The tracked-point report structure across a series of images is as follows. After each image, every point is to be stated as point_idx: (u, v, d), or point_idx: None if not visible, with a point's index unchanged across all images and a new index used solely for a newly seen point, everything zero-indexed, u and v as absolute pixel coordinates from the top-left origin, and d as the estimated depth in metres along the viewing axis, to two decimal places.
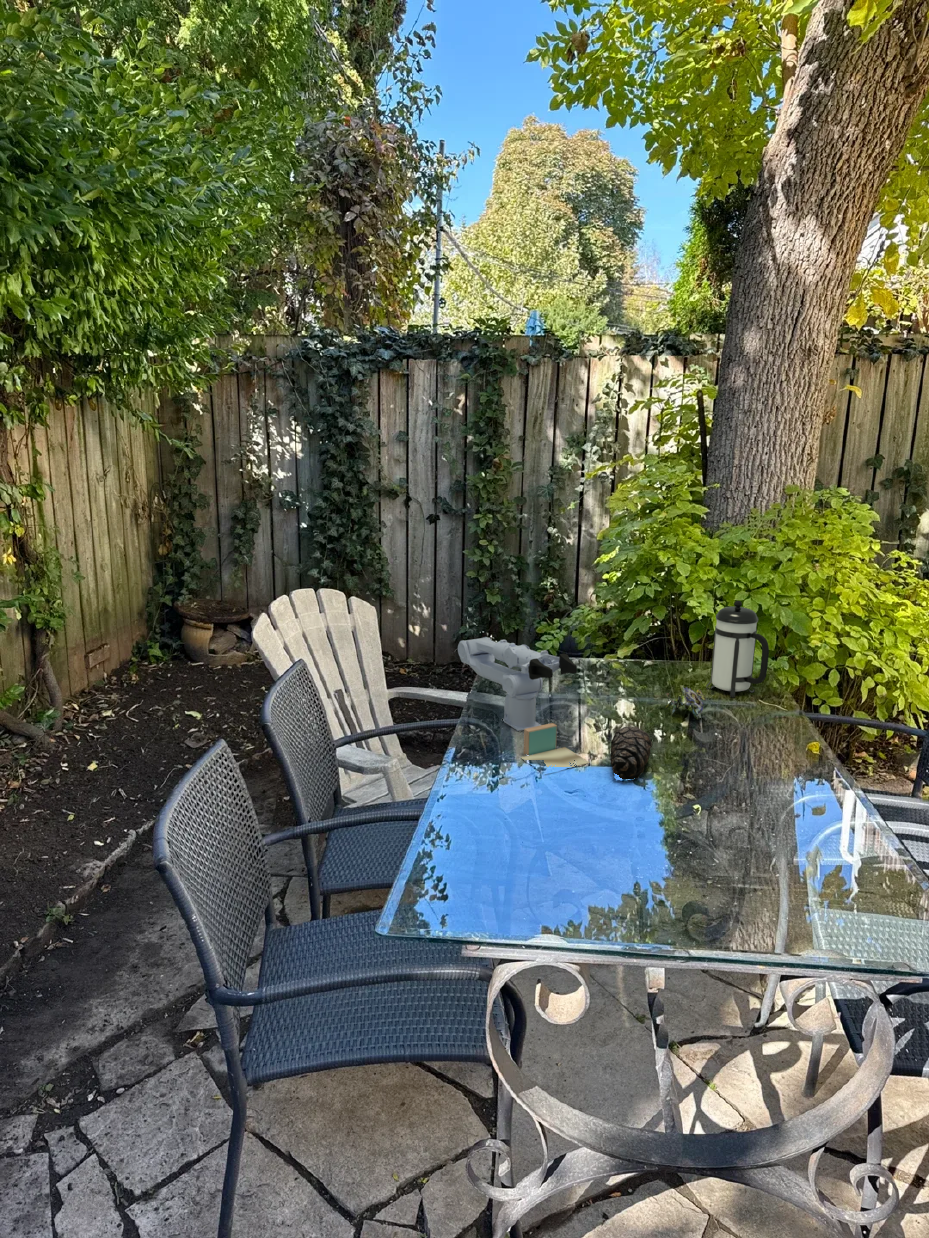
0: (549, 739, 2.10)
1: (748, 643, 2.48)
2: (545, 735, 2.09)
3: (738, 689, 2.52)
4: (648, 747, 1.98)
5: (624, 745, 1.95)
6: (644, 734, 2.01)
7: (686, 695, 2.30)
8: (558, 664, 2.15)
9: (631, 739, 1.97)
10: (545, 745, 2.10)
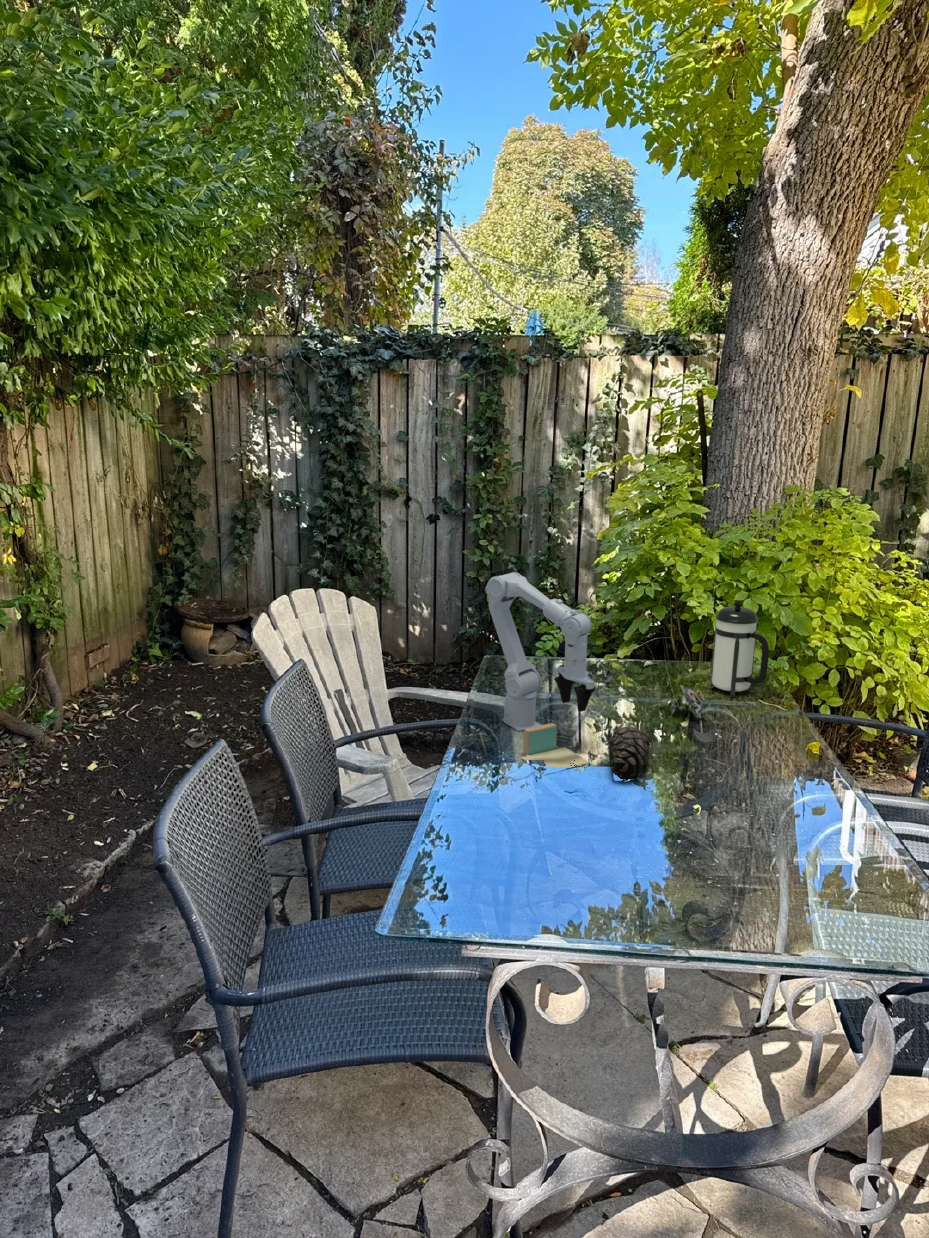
0: (549, 739, 2.10)
1: (748, 643, 2.48)
2: (545, 735, 2.09)
3: (738, 689, 2.52)
4: (647, 747, 1.98)
5: (623, 745, 1.95)
6: (642, 734, 2.01)
7: (686, 695, 2.31)
8: None
9: (630, 739, 1.97)
10: (545, 745, 2.10)
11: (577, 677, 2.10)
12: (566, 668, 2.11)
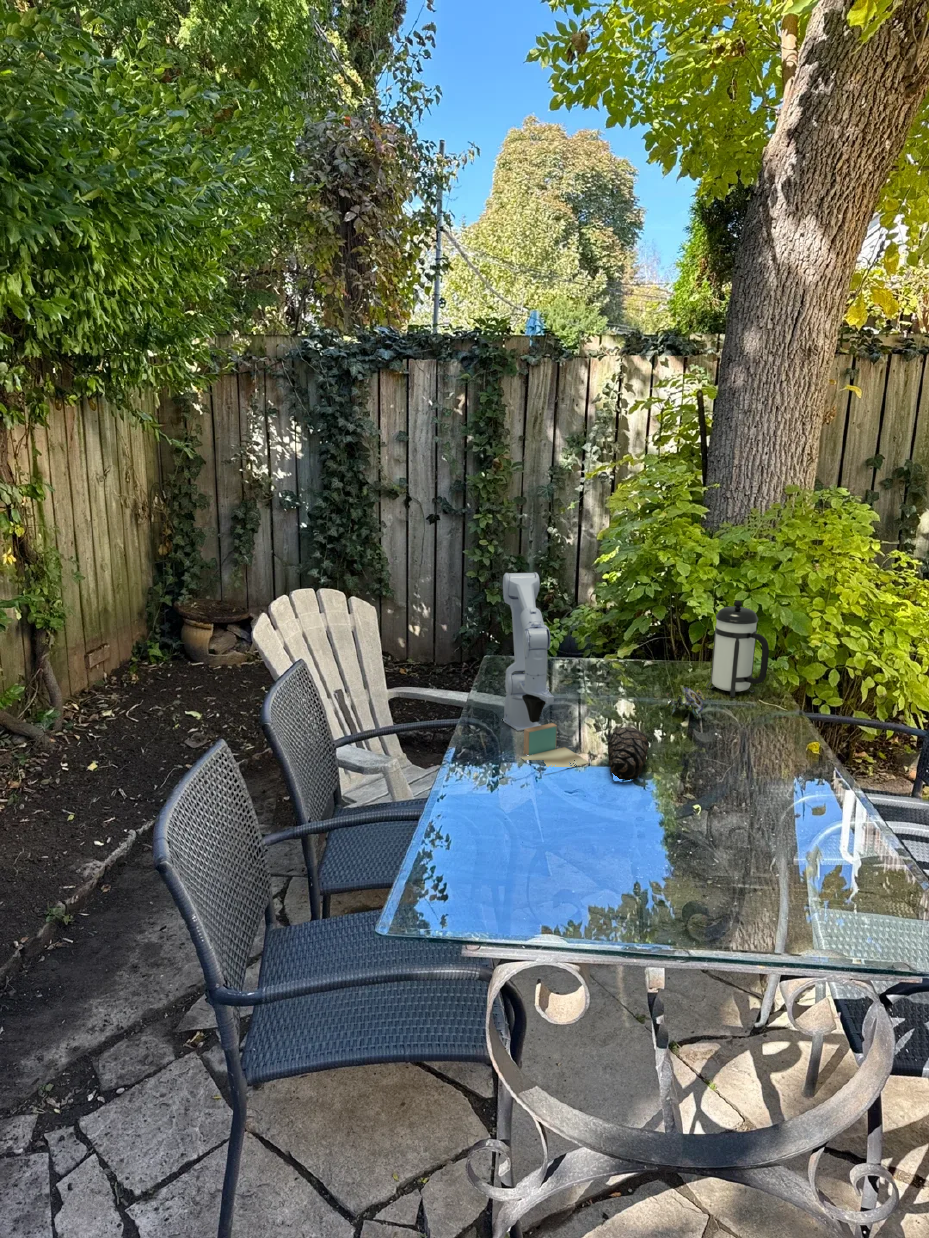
0: (549, 739, 2.10)
1: (748, 643, 2.48)
2: (545, 735, 2.09)
3: (738, 689, 2.52)
4: (646, 747, 1.98)
5: (622, 746, 1.95)
6: (641, 734, 2.01)
7: (686, 695, 2.31)
8: None
9: (629, 740, 1.96)
10: (545, 745, 2.10)
11: (537, 691, 2.06)
12: (526, 682, 2.07)
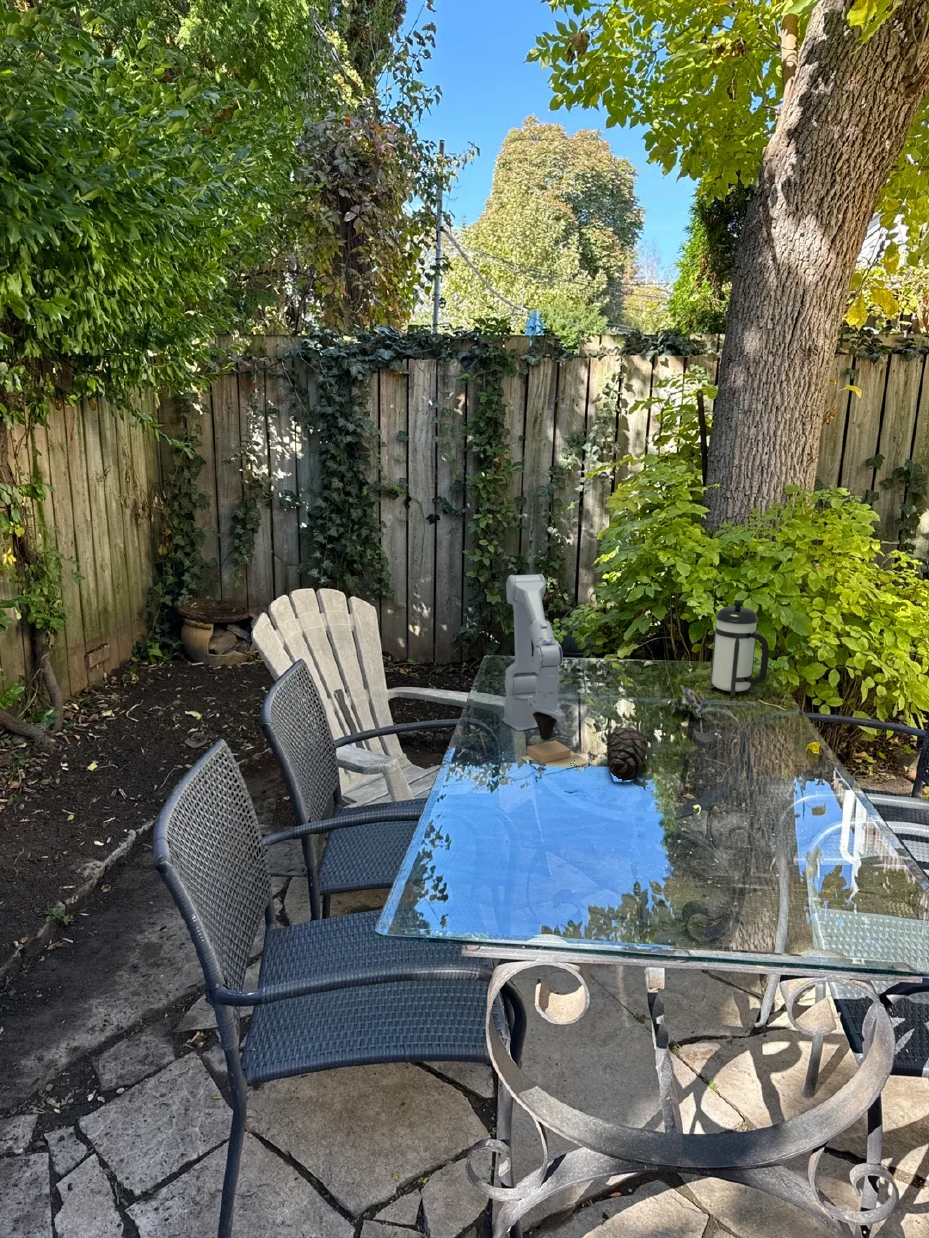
0: None
1: (748, 643, 2.48)
2: None
3: (738, 689, 2.52)
4: (645, 748, 1.98)
5: (621, 746, 1.95)
6: (640, 735, 2.00)
7: (686, 695, 2.31)
8: None
9: (628, 740, 1.96)
10: None
11: (548, 709, 2.02)
12: (537, 700, 2.04)
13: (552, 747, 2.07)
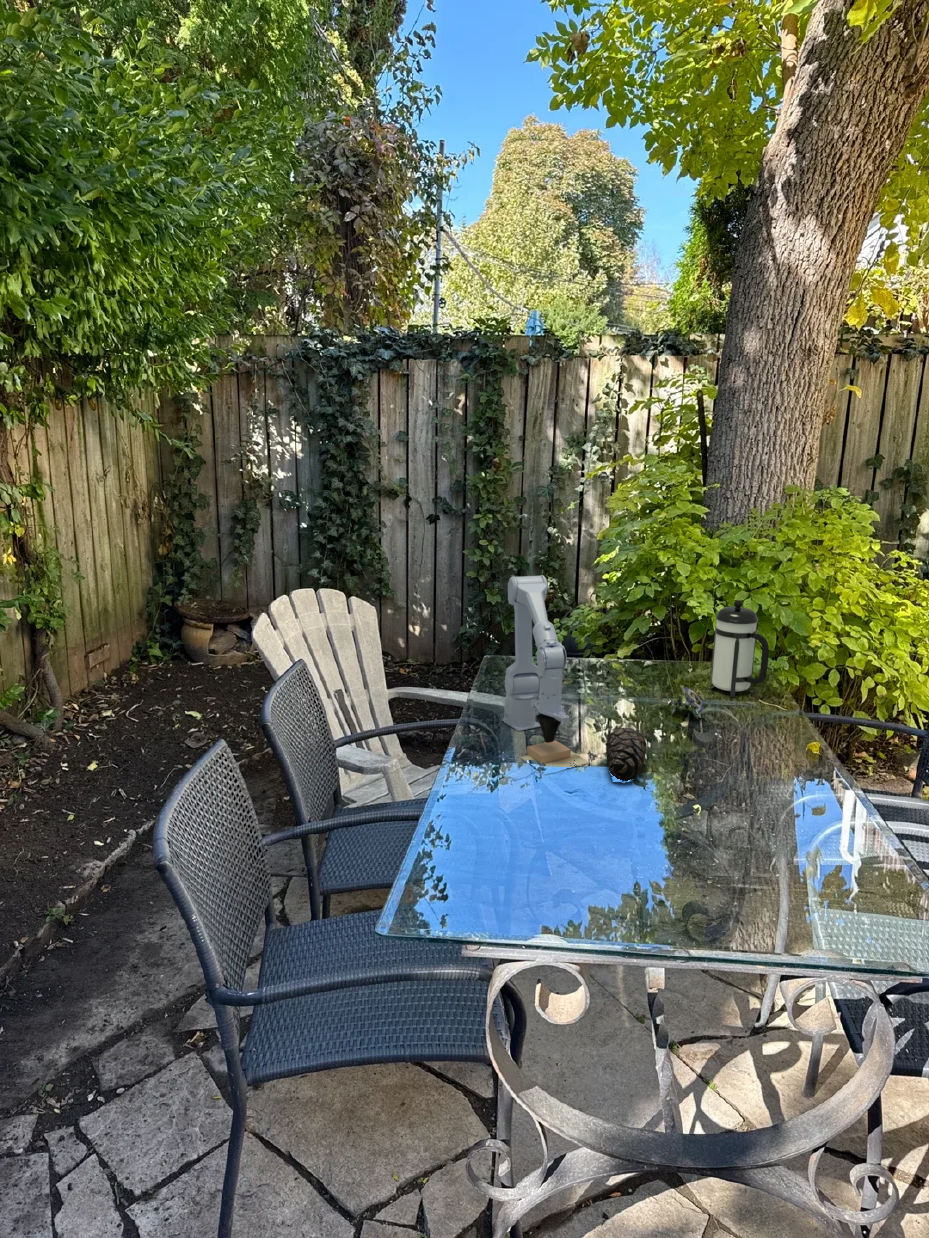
0: None
1: (748, 643, 2.48)
2: None
3: (738, 689, 2.52)
4: (644, 748, 1.98)
5: (621, 746, 1.94)
6: (639, 735, 2.00)
7: (686, 695, 2.31)
8: None
9: (627, 740, 1.96)
10: None
11: (552, 711, 2.01)
12: (540, 702, 2.02)
13: (552, 747, 2.07)
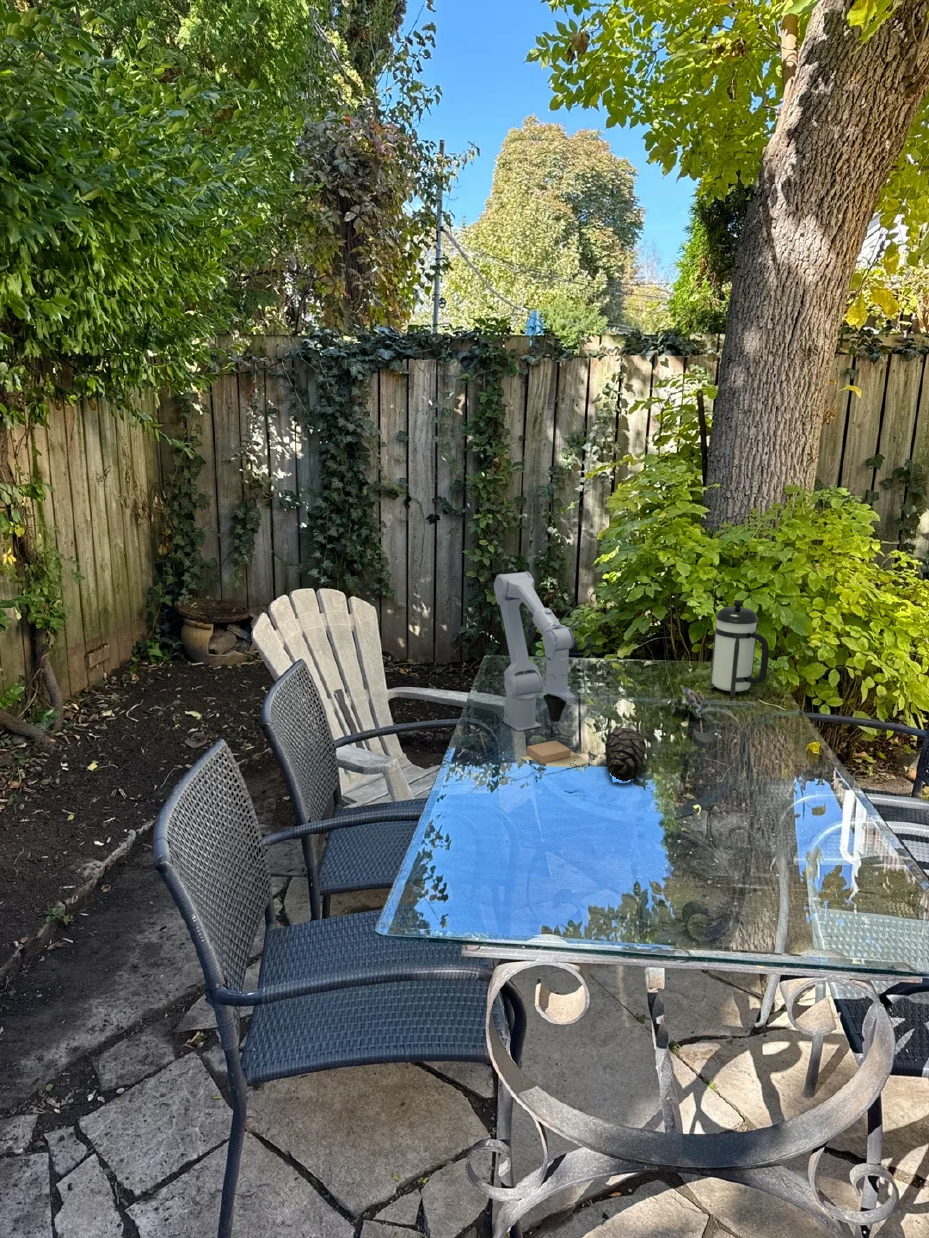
0: None
1: (748, 643, 2.48)
2: None
3: (738, 689, 2.52)
4: (643, 748, 1.98)
5: (620, 747, 1.94)
6: (638, 735, 2.00)
7: (686, 695, 2.31)
8: None
9: (627, 741, 1.96)
10: None
11: (558, 691, 2.08)
12: (547, 682, 2.09)
13: (552, 747, 2.07)
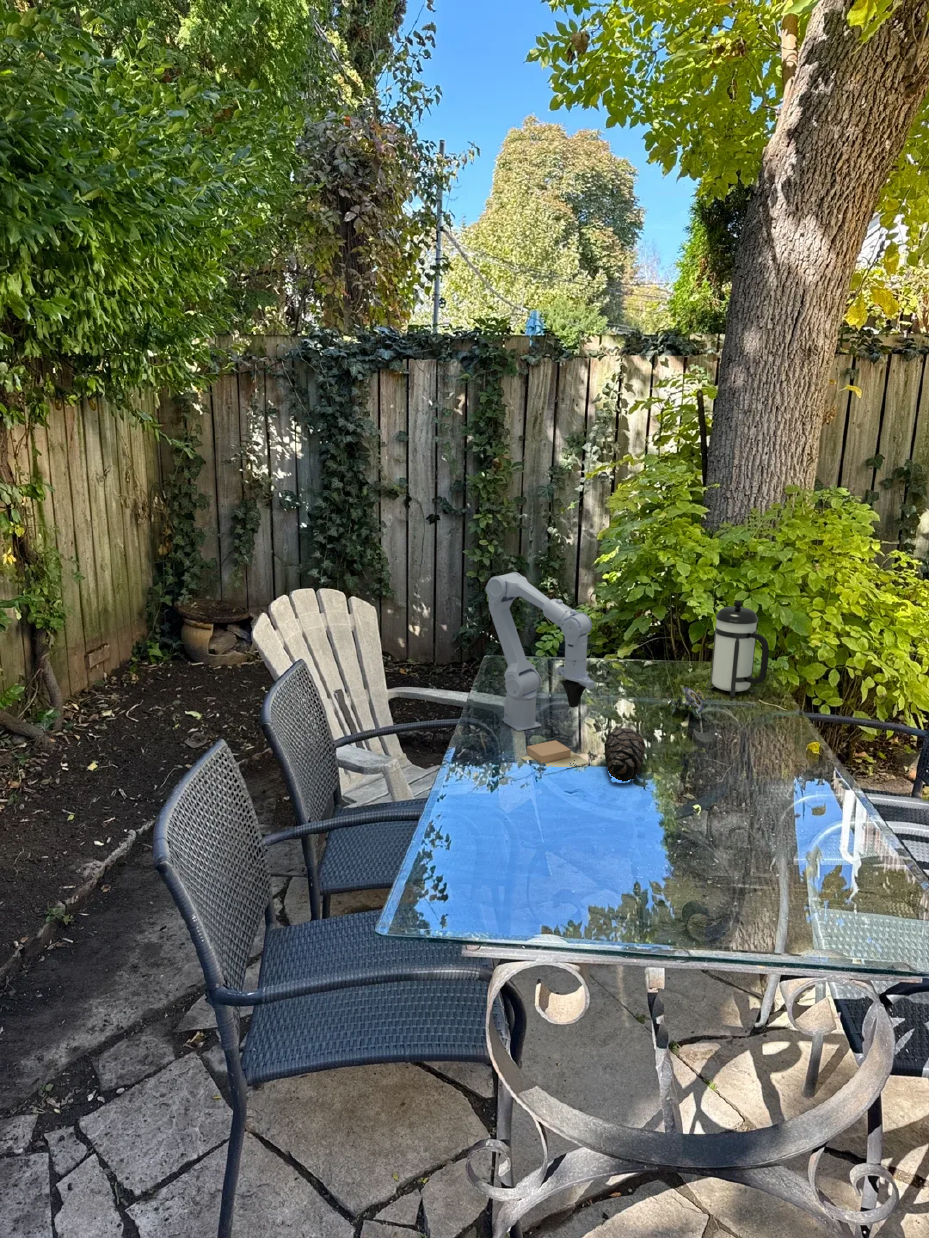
0: None
1: (748, 643, 2.48)
2: None
3: (738, 689, 2.52)
4: (642, 748, 1.98)
5: (620, 747, 1.94)
6: (637, 735, 2.00)
7: (686, 695, 2.31)
8: None
9: (626, 741, 1.96)
10: None
11: (577, 677, 2.10)
12: (566, 668, 2.11)
13: (552, 747, 2.07)
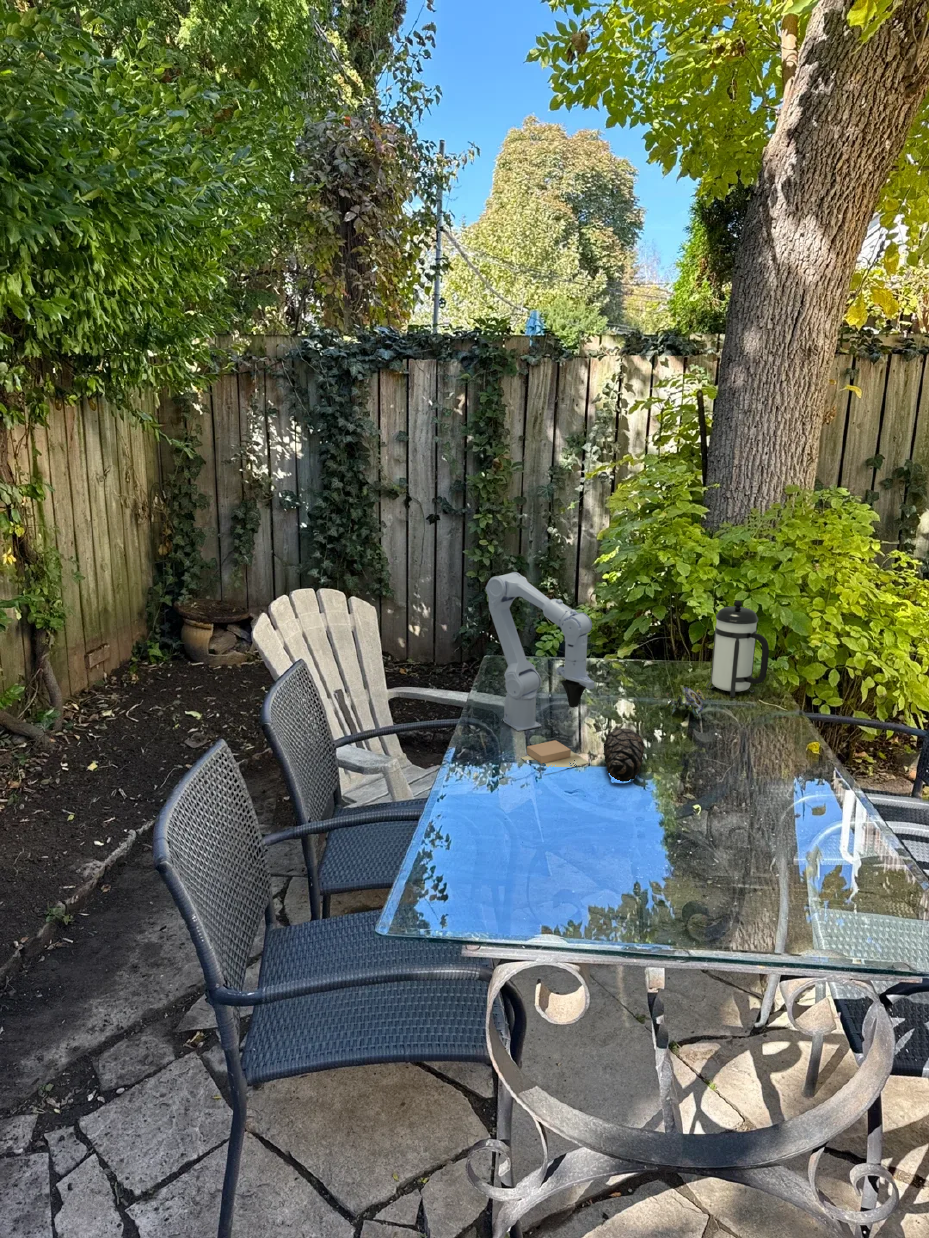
0: None
1: (748, 643, 2.48)
2: None
3: (738, 689, 2.52)
4: (642, 748, 1.98)
5: (620, 747, 1.94)
6: (637, 735, 2.00)
7: (686, 695, 2.31)
8: None
9: (626, 741, 1.96)
10: None
11: (577, 677, 2.10)
12: (566, 668, 2.11)
13: (552, 747, 2.07)
